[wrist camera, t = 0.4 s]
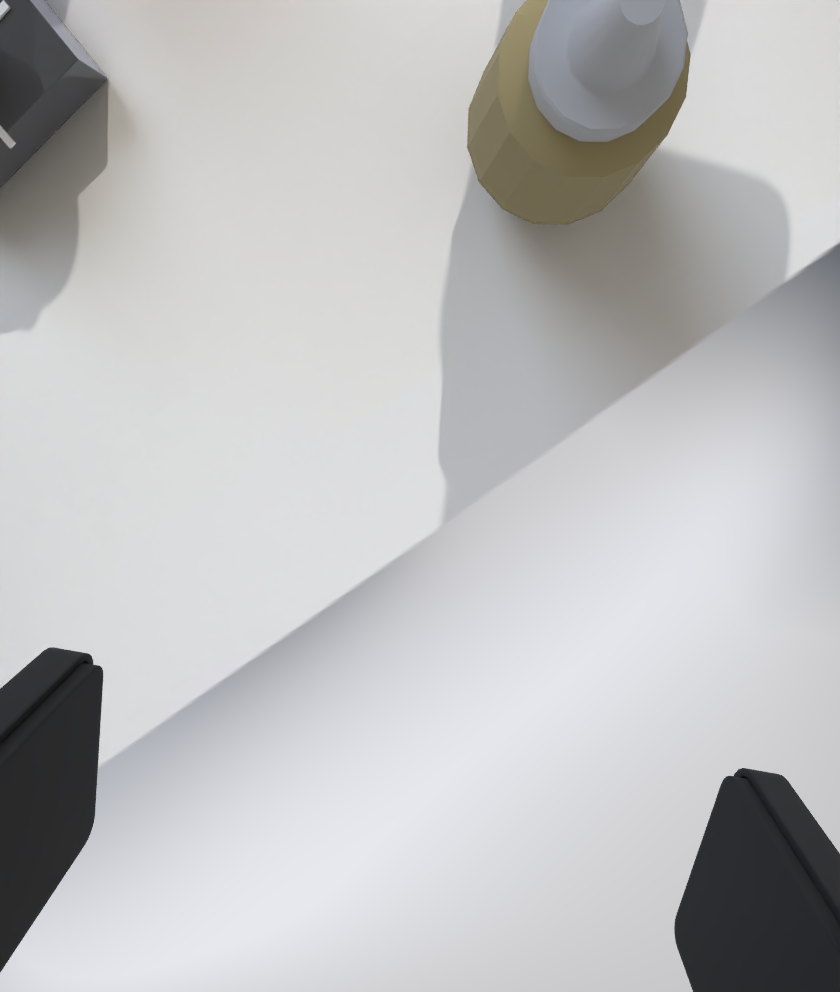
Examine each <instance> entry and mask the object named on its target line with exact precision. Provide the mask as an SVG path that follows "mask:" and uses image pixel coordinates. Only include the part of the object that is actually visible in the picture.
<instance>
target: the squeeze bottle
mask: <svg viewBox="0 0 840 992" xmlns="http://www.w3.org/2000/svg"><path fill="white" fill-rule="evenodd" d="M687 35H688V32H687V28H686V24H685V20H684V16H683V12H682V9H681V5H680V1H679V0H527V1H526V2H525V3H524V4H523V5H522V6H521V8H520V9H519V10H518V11H517V12H516V13H515V15H514V17H513V19H512V21H511V22H510V24H509V26H508V28H507V30H506V32H505V34H504V35H503V37H502V39H501V41H500V43H499V45H498V46H497V48H496V50H495V52H494V54H493V56H492V58H491V59H490V61H489V63H488V65H487V67H486V69H485V70H484V73H483V75H482V77H481V80H480V82H479V85H478V87H477V90H476V92H475V94H474V97H473V99H472V102H471V104H470V107H469V115H468V144H467V148H468V151H469V153H470V156H471V159H472V162H473V165H474V168H475V171H476V174H477V177H478V180H479V183H480V184H481V185H482V186H483V187H484V188H485V189H486V191H487V192H488V193H489V194H490V195H491V196H492V197H493V199H494V200H495V201H496V202H497V203H498V204H499V205H500V207H501V208H502V209H504V210H506V211H508V212H510V213H512V214H514V215H516V216H519V217H521V218H523V219H525V220H527V221H529V222H531V223H533V224H569V223H572V222H574V221H577V220H579V219H582V218H584V217H586V216H589V215H591V214H594V213H596V212H599V211H601V210H602V209H603V208H604V207H605V206H606V205H607V204H608V203H609V202H610V201H611V200H612V199H613V198H614V197H615V196H616V195H617V194H619V193H620V192H621V191H622V190H623V189H624V188H625V187H626V186H627V185H628V184H629V182H630V181H631V180H632V179H633V177H634V176H635V175H636V174H637V172H638V171H639V170H640V168H641V167H642V166H643V165H644V163H645V162H646V161H647V160H648V158H649V157H650V156H651V155H652V153H653V152H654V151H655V150H656V148H657V147H658V146H659V145H660V143H661V142H662V141H663V140H664V138H665V137H666V136H667V134H668V132H669V130H670V128H671V126H672V124H673V122H674V120H675V118H676V116H677V114H678V112H679V110H680V108H681V106H682V104H683V102H684V99H685V97H686V91H687V81H688V72H689V63H690V51H689V47H688V43H687Z"/></svg>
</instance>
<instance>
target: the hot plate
mask: <svg viewBox="0 0 840 992" xmlns="http://www.w3.org/2000/svg"><path fill="white" fill-rule="evenodd" d="M106 80H107V77H106V76H105V74H104V73H103V72H102V71H101V69H100V68H99V67H98V66H97V64H96V63H95V62H94V61H93V60H92V58H91V57H90V56H89V55H88V53H87V52H86V51H85V50H84V48H83V47H82V46H81V45H80V43H79V42H78V41H77V40H76V39H75V37H74V36H73V35H72V34H71V32H70V31H69V30H68V29H67V27H66V26H65V25H64V24H63V22H62V21H61V20H60V19H59V18H58V16H57V15H56V14H55V13H54V11H53V10H52V9H51V8H50V6H49V5H48V4H47V3H46V1H45V0H0V187H1V186H2V185H3V184H4V183H5V182H6V181H7V180H8V179H9V178H10V177H11V176H12V175H13V174H14V173H15V172H16V171H17V170H18V169H19V168H20V167H21V166H22V165H23V164H24V163H25V162H26V161H27V160H28V159H29V158H30V157H31V156H32V155H33V154H34V153H35V152H36V151H37V150H38V149H39V148H40V147H41V146H42V145H43V144H44V143H45V142H46V141H47V140H48V139H49V138H50V137H51V136H52V135H53V134H54V132H55V131H56V130H57V129H58V128H59V127H60V126H61V125H62V124H63V123H64V122H65V121H66V120H67V119H68V118H69V117H70V116H71V115H72V114H73V113H74V112H75V111H76V110H77V109H78V108H79V107H80V106H81V105H82V104H83V103H84V102H85V101H86V100H87V99H88V98H89V97H90V96H91V95H92V94H93V93H94V92H95V91H96V90H97V89H98V88H99V87H100V86H101V85H102V84H103V83H104V82H105V81H106Z"/></svg>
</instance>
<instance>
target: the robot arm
mask: <svg viewBox="0 0 840 992" xmlns="http://www.w3.org/2000/svg"><path fill="white" fill-rule="evenodd" d="M102 686H103V670H102V668H101V667H100V666H97V665H93V659H92V656H91V655H90V654H87V653H82V652H76V651H70V650H64V649H59V648H48V649H46V650H44V651H43V652H42V653H41V654H40V655H39V656H37V657H36V658H35V659H34V660H33V661H32V662H31V663H29V664H28V665H27V666H26V667H25V668H24V669H22V670H21V671H20V672H19V673H18V674H17V675H16V676H14V677H13V678H12V679H11V680H10V681H9V682H8V683H6V684H5V685H4V686H3V687H2V688H1V689H0V972H1V970H2V969H3V967H4V966H5V964H6V963H7V961H8V960H9V958H10V957H11V955H12V954H13V952H14V951H15V949H16V948H17V946H18V945H19V943H20V942H21V940H22V939H23V937H24V936H25V934H26V933H27V931H28V930H29V928H30V927H31V925H32V924H33V922H34V921H35V919H36V918H37V916H38V915H39V913H40V912H41V910H42V909H43V907H44V906H45V904H46V903H47V901H48V900H49V898H50V897H51V895H52V893H53V892H54V890H55V889H56V888H57V886H58V884H59V883H60V881H61V880H62V878H63V877H64V875H65V874H66V872H67V871H68V869H69V868H70V866H71V865H72V863H73V862H74V860H75V859H76V857H77V856H78V854H79V853H80V851H81V850H82V848H83V847H84V845H85V843H86V842H87V840H88V838H89V835H90V833H91V830H92V827H93V823H94V817H95V803H96V786H97V770H98V753H99V736H100V720H101V703H102ZM675 939H676V944H677V948H678V951H679V953H680V956H681V959H682V962H683V965H684V967H685V970H686V973H687V976H688V978H689V981H690V984H691V987H692V990H693V992H840V854H839V852H838V851H837V849H836V848H835V847H834V845H833V844H832V842H831V841H830V840H829V838H828V837H827V836H826V834H825V833H824V831H823V830H822V828H821V827H820V826H819V824H818V823H817V821H816V820H815V819H814V817H813V816H812V814H811V813H810V811H809V810H808V809H807V807H806V806H805V805H804V803H803V802H802V800H801V799H800V797H799V796H798V795H797V793H796V792H795V790H794V789H793V788H792V786H791V785H790V783H789V782H788V781H787V780H786V779H785V778H784V777H783V776H782V775H779V774H774V773H768V772H763V771H757V770H751V769H745V768H742V769H739V770H738V771H737V772H736V773H735V774H734V776H727V777H726V778H725V779H724V780H723V782H722V784H721V786H720V789H719V792H718V795H717V798H716V801H715V804H714V807H713V810H712V813H711V816H710V819H709V821H708V824H707V827H706V830H705V833H704V836H703V839H702V842H701V845H700V848H699V851H698V854H697V856H696V859H695V862H694V865H693V869H692V871H691V874H690V877H689V880H688V883H687V886H686V889H685V892H684V895H683V898H682V900H681V903H680V906H679V909H678V912H677V915H676V919H675Z"/></svg>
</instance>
